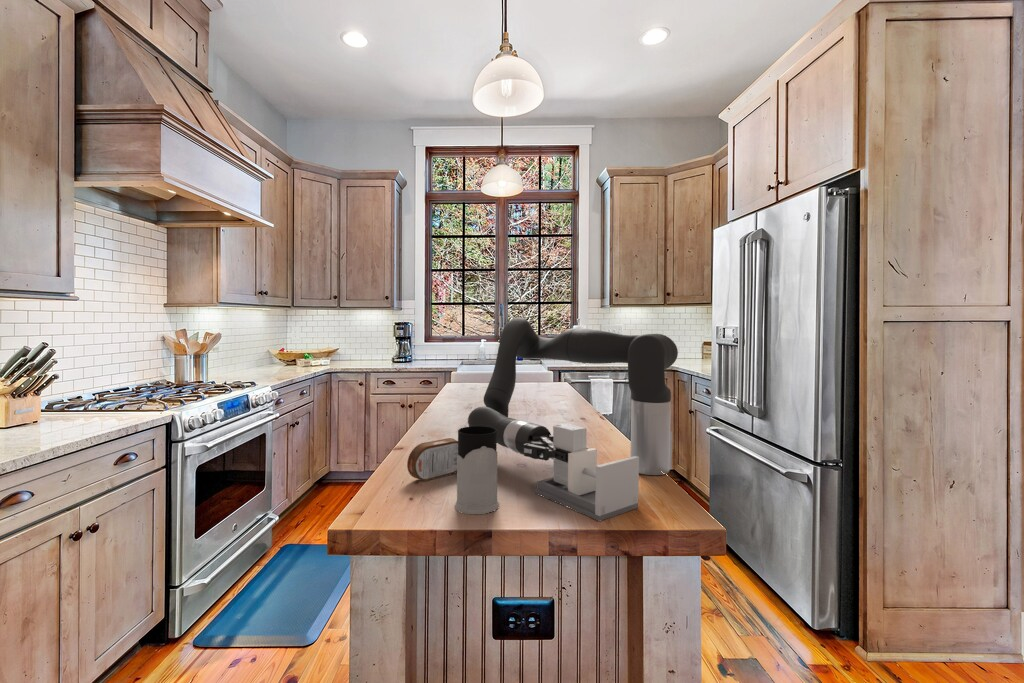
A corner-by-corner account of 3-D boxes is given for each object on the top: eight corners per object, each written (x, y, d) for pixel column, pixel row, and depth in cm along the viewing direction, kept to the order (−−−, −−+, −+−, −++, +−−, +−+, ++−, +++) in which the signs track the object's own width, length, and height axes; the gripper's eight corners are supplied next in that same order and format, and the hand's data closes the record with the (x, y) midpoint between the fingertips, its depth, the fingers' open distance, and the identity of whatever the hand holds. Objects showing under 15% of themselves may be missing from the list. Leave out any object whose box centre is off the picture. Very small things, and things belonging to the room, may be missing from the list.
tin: (459, 468, 122) (459, 434, 121) (467, 471, 119) (467, 436, 119) (406, 482, 111) (406, 445, 111) (414, 486, 109) (414, 447, 108)
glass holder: (461, 517, 91) (461, 437, 91) (442, 492, 105) (442, 421, 104) (506, 511, 95) (506, 433, 94) (482, 487, 108) (482, 419, 107)
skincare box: (587, 485, 103) (589, 427, 102) (572, 489, 100) (573, 430, 99) (566, 477, 108) (567, 422, 107) (551, 481, 105) (552, 424, 104)
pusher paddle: (592, 488, 104) (592, 448, 103) (614, 497, 99) (614, 454, 99) (567, 495, 99) (568, 453, 99) (589, 504, 95) (590, 460, 94)
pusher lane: (573, 483, 111) (573, 439, 111) (638, 507, 97) (638, 457, 96) (535, 493, 104) (535, 446, 104) (599, 521, 90) (599, 467, 90)
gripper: (502, 426, 111) (553, 442, 97) (550, 419, 119) (604, 433, 105) (501, 459, 111) (553, 480, 97) (549, 449, 120) (603, 468, 106)
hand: (579, 455), depth 101 cm, fingers closed on skincare box, 4 cm apart
